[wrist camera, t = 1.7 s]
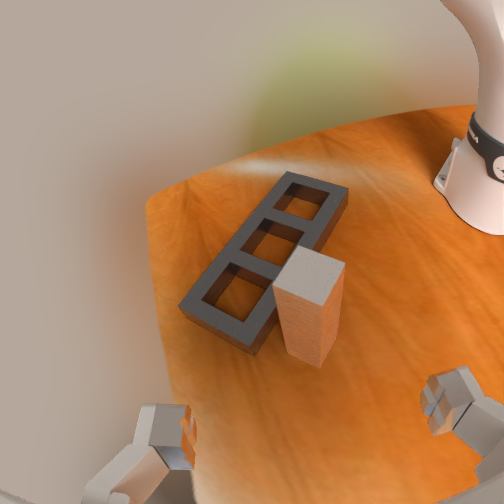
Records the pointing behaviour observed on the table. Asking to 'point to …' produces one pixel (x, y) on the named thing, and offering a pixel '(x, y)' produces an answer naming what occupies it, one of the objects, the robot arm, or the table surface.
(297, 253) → the post
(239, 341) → the dark grey flat frame
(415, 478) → the table surface
